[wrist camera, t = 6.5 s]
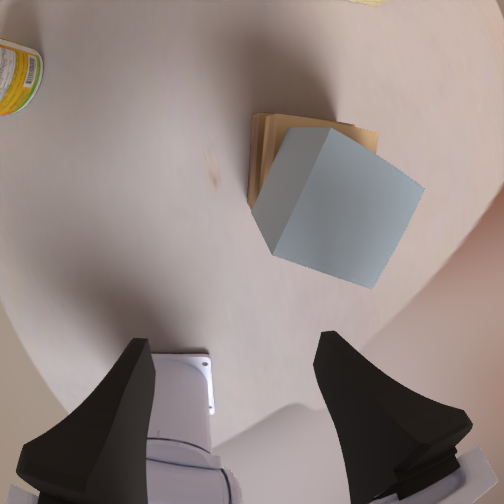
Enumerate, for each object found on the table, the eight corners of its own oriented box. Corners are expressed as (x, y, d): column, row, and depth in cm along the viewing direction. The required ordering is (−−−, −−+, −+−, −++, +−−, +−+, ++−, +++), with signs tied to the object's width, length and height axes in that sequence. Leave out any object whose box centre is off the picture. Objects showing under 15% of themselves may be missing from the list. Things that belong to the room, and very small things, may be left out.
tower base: (327, 204, 21) (344, 216, 18) (246, 201, 20) (253, 213, 17) (335, 124, 18) (355, 124, 16) (251, 115, 17) (259, 112, 15)
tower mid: (340, 214, 18) (362, 230, 15) (256, 209, 17) (266, 224, 14) (353, 130, 16) (378, 132, 13) (265, 116, 15) (277, 113, 12)
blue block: (327, 241, 15) (372, 289, 11) (250, 212, 14) (272, 255, 9) (363, 167, 14) (424, 188, 9) (288, 127, 12) (330, 127, 8)
